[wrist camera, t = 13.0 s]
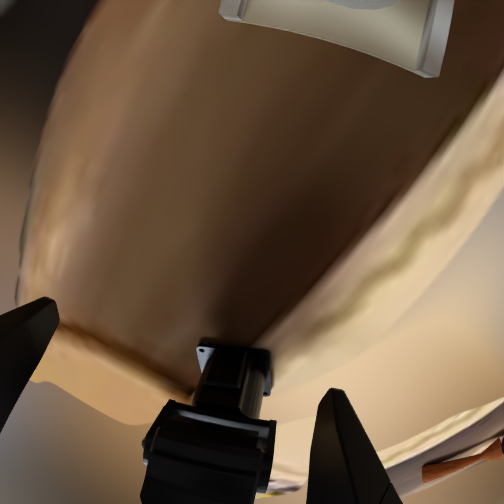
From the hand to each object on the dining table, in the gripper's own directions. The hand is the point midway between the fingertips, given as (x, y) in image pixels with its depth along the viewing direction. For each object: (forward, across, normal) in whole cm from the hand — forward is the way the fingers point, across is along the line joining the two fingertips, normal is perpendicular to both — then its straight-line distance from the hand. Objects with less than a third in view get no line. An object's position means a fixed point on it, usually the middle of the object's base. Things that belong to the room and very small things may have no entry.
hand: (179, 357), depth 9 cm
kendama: (+13, -44, +27) cm, 53 cm away
